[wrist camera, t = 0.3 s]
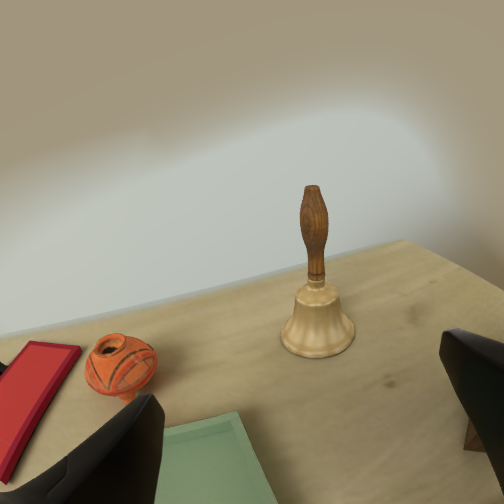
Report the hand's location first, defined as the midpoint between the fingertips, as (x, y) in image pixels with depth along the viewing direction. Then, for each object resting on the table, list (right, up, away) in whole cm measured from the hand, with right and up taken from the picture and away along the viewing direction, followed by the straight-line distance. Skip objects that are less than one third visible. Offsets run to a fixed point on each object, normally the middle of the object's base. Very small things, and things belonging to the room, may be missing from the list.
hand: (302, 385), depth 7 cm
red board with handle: (-31, -16, +10) cm, 37 cm away
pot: (-14, -11, +18) cm, 25 cm away
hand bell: (+6, -5, +23) cm, 24 cm away
